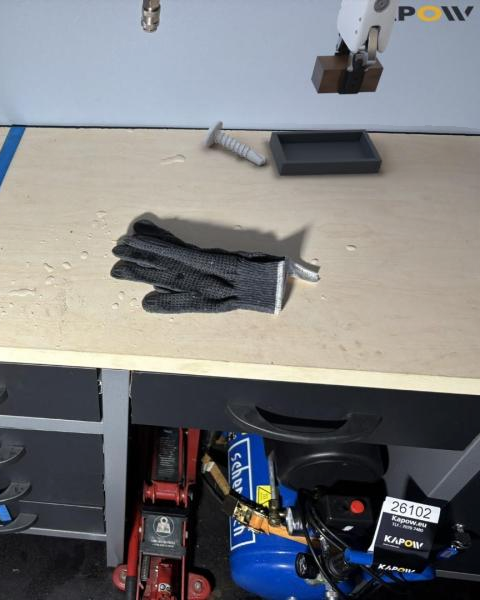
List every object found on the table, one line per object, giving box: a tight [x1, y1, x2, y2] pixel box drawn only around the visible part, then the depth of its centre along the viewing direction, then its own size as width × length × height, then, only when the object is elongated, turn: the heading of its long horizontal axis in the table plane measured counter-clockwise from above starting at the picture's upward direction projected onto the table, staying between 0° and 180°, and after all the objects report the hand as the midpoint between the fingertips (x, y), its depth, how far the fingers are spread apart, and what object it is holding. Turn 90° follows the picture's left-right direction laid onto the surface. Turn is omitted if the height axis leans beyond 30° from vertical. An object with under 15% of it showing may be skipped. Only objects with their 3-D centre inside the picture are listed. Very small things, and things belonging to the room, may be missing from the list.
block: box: [310, 54, 384, 95], centre depth 95 cm, size 9×4×4 cm, turn 89°
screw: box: [204, 120, 266, 166], centre depth 108 cm, size 5×12×5 cm
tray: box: [269, 128, 383, 176], centre depth 106 cm, size 17×10×2 cm, turn 89°
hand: (343, 83), depth 96 cm, fingers closed on block, 4 cm apart
